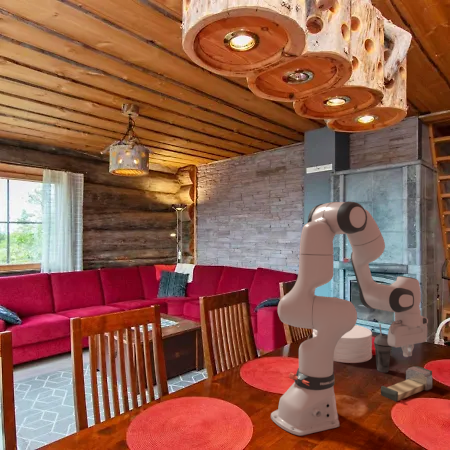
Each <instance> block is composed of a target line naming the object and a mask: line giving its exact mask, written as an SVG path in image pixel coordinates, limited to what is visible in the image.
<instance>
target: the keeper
mask: <svg viewBox="0 0 450 450" xmlns="http://www.w3.org/2000/svg"><path fill="white" fill-rule="evenodd" d="M408 379H411V380H413V381H416V382H419V383H422V384H424V390H423V391H430V390H431V389H433V374H432V375H430V372H429V371H426V370H423V369H420V368H417V367H416V366H411V367H408V368H407V369H406V370H405V380H408Z"/></svg>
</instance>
